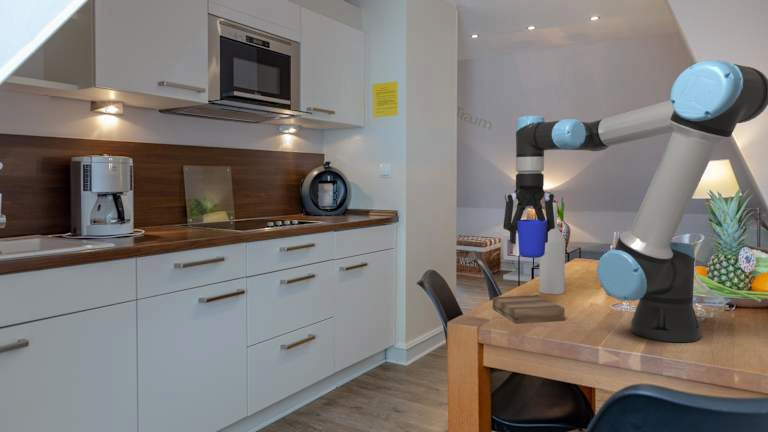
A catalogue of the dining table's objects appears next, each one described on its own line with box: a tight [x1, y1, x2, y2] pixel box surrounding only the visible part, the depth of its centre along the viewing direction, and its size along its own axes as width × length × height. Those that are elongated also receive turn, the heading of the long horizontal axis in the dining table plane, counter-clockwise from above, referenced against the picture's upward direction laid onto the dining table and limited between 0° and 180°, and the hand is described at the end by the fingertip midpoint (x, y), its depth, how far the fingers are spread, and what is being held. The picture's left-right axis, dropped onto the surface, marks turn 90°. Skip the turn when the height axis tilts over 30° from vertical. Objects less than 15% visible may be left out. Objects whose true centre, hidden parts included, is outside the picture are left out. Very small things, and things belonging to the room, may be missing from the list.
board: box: [492, 294, 565, 324], centre depth 153 cm, size 16×14×4 cm
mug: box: [516, 219, 547, 259], centre depth 152 cm, size 8×12×10 cm
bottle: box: [538, 202, 566, 295], centre depth 181 cm, size 8×8×30 cm
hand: (528, 254), depth 152 cm, fingers closed on mug, 7 cm apart
